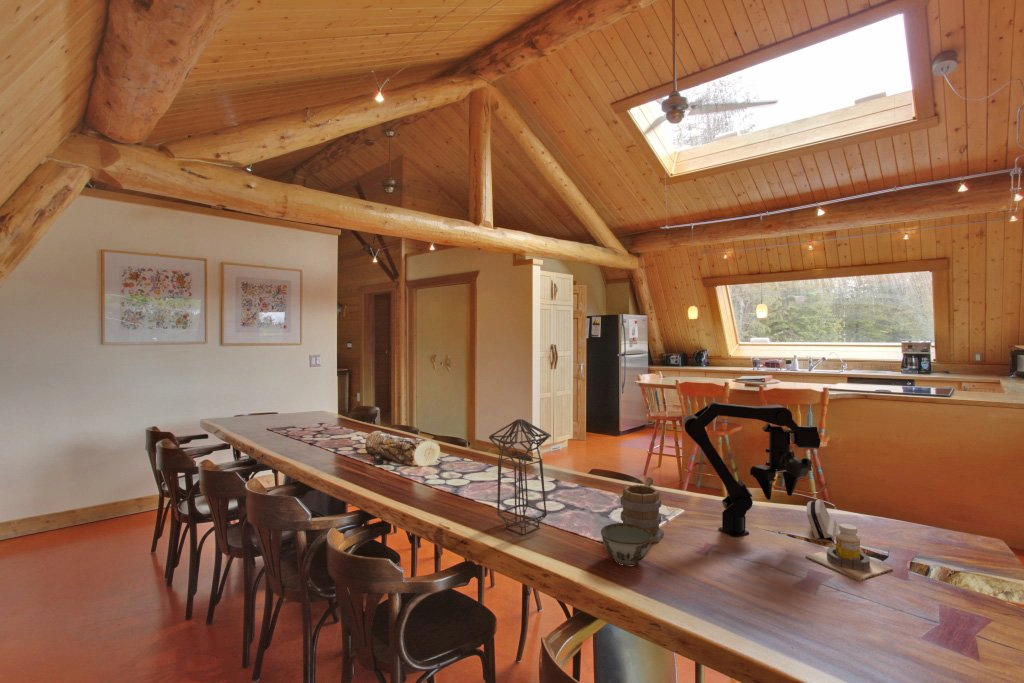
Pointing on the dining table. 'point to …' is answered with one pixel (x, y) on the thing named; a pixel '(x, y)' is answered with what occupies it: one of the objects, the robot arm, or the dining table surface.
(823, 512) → the grey piece
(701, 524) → the dining table surface
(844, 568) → the ring holder
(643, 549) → the bowl
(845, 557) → the supplement bottle
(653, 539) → the tankard
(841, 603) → the dining table surface
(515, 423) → the geometric lantern
